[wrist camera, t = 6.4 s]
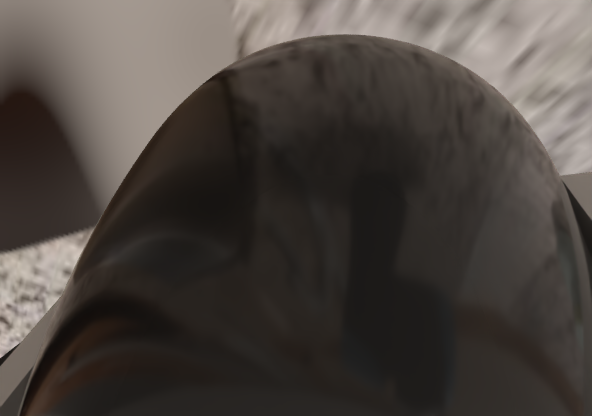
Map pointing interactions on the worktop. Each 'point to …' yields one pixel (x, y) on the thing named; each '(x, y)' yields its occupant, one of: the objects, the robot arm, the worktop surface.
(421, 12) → the worktop surface
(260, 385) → the pump dispenser
